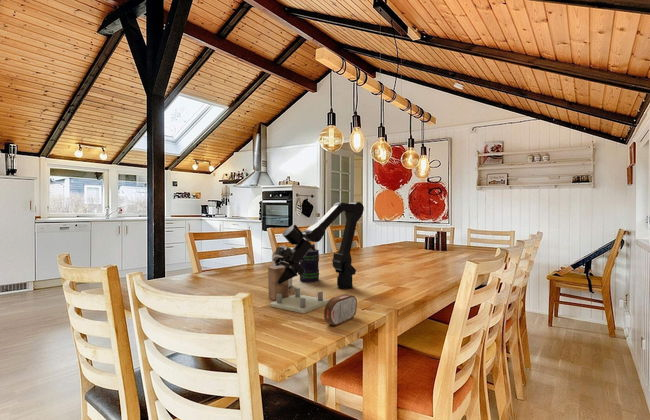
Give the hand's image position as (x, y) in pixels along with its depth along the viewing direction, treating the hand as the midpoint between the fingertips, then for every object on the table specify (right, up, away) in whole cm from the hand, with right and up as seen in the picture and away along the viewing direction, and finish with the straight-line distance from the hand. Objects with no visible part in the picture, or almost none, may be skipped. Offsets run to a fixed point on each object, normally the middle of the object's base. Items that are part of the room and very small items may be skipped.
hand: (275, 281), depth 145 cm
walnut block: (+1, -7, +1) cm, 7 cm away
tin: (+25, -7, -29) cm, 39 cm away
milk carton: (0, -7, +21) cm, 22 cm away
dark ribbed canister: (+12, -6, +34) cm, 37 cm away
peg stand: (+11, -7, -9) cm, 15 cm away
